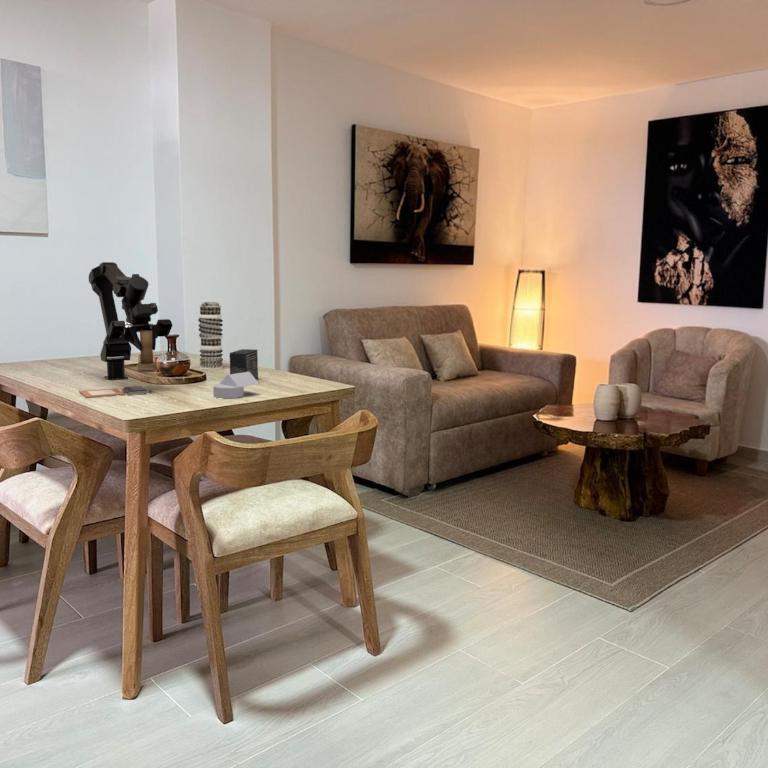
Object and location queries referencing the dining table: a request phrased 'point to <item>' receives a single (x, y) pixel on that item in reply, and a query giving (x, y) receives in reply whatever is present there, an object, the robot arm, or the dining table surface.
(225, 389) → the wedge on round base
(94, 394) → the print card
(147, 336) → the stamp
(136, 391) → the ink pad
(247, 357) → the small box
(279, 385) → the dining table surface
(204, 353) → the decorative candle
